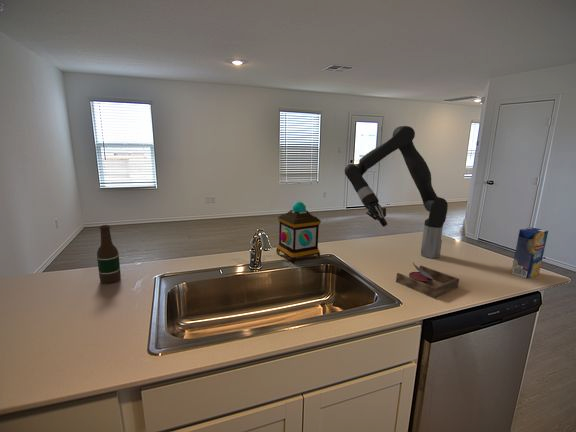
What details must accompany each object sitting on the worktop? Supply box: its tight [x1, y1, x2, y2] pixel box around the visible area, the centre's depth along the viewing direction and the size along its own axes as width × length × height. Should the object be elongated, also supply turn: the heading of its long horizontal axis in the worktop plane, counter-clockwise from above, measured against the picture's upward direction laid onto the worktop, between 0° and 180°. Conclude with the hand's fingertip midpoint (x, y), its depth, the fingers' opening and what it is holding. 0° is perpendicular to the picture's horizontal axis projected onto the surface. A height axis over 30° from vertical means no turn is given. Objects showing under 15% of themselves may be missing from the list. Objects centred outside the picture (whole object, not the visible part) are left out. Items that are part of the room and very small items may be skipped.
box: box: [395, 265, 460, 299], centre depth 131 cm, size 18×18×4 cm
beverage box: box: [510, 227, 549, 279], centre depth 144 cm, size 7×11×22 cm, turn 118°
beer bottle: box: [96, 224, 122, 285], centre depth 126 cm, size 8×8×24 cm
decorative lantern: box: [275, 201, 322, 264], centre depth 160 cm, size 20×20×30 cm
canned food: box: [408, 262, 434, 287], centre depth 134 cm, size 11×10×10 cm
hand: (385, 225), depth 147 cm, fingers closed
